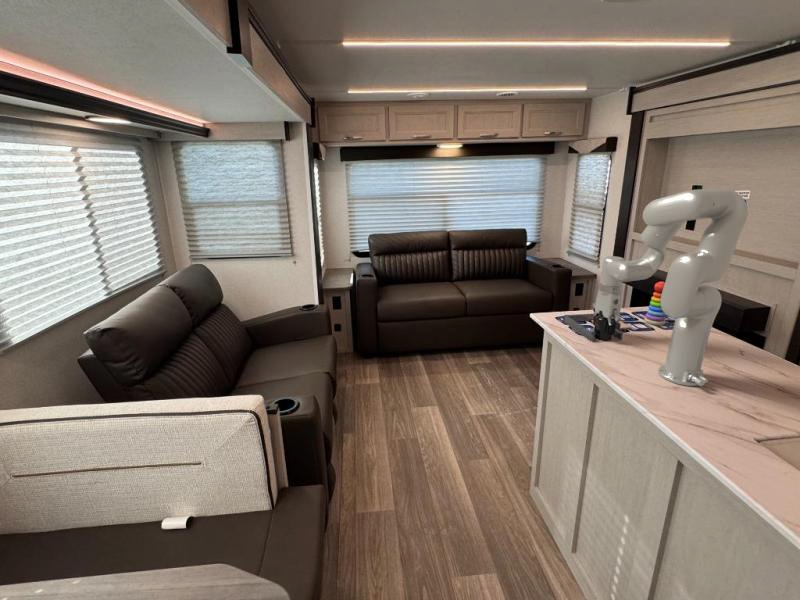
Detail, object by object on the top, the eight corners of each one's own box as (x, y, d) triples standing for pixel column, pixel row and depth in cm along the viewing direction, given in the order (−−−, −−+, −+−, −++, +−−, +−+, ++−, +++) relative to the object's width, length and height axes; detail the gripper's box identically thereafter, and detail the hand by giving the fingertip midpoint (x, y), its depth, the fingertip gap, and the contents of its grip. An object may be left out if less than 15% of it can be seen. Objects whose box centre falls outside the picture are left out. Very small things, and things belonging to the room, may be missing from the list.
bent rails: (634, 339, 162) (635, 332, 161) (591, 341, 160) (592, 335, 160) (601, 319, 184) (602, 313, 183) (563, 321, 182) (563, 315, 181)
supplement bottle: (606, 334, 167) (610, 307, 164) (614, 341, 161) (619, 313, 157) (589, 334, 167) (593, 307, 163) (597, 341, 161) (602, 313, 157)
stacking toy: (668, 326, 175) (677, 284, 169) (650, 326, 175) (658, 284, 169) (658, 319, 182) (666, 279, 176) (640, 319, 182) (647, 279, 177)
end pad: (630, 328, 173) (630, 327, 173) (604, 329, 172) (604, 328, 172) (616, 319, 183) (616, 318, 183) (591, 321, 182) (591, 320, 181)
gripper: (633, 294, 150) (625, 337, 155) (605, 281, 166) (599, 321, 171) (614, 295, 149) (607, 338, 154) (588, 282, 165) (582, 322, 171)
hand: (603, 329), depth 163 cm, fingers open, 8 cm apart
